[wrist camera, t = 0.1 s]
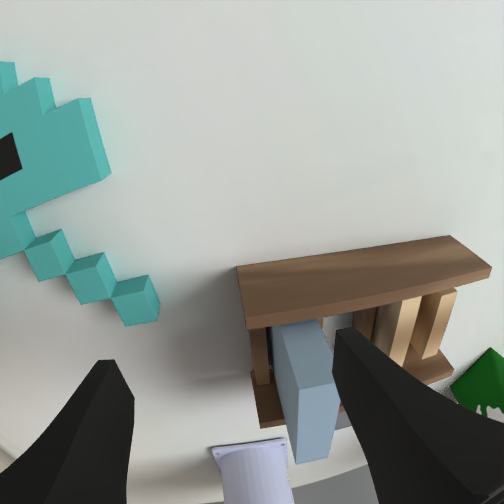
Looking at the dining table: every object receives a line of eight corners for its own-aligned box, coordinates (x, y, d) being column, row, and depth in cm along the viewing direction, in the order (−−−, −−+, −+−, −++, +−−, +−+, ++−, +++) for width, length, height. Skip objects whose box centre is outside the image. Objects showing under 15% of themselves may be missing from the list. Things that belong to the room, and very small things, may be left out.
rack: (424, 338, 25) (451, 375, 21) (251, 378, 24) (260, 428, 20) (450, 235, 21) (491, 267, 16) (236, 266, 20) (245, 317, 15)
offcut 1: (380, 336, 24) (400, 369, 21) (364, 340, 24) (383, 375, 21) (392, 263, 21) (422, 294, 18) (375, 267, 21) (402, 299, 18)
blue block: (296, 360, 24) (327, 457, 16) (271, 364, 24) (295, 464, 16) (296, 274, 20) (344, 380, 12) (265, 278, 20) (299, 390, 12)
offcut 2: (413, 323, 24) (436, 354, 21) (399, 327, 24) (421, 359, 21) (427, 263, 22) (457, 291, 18) (412, 266, 22) (441, 295, 18)
